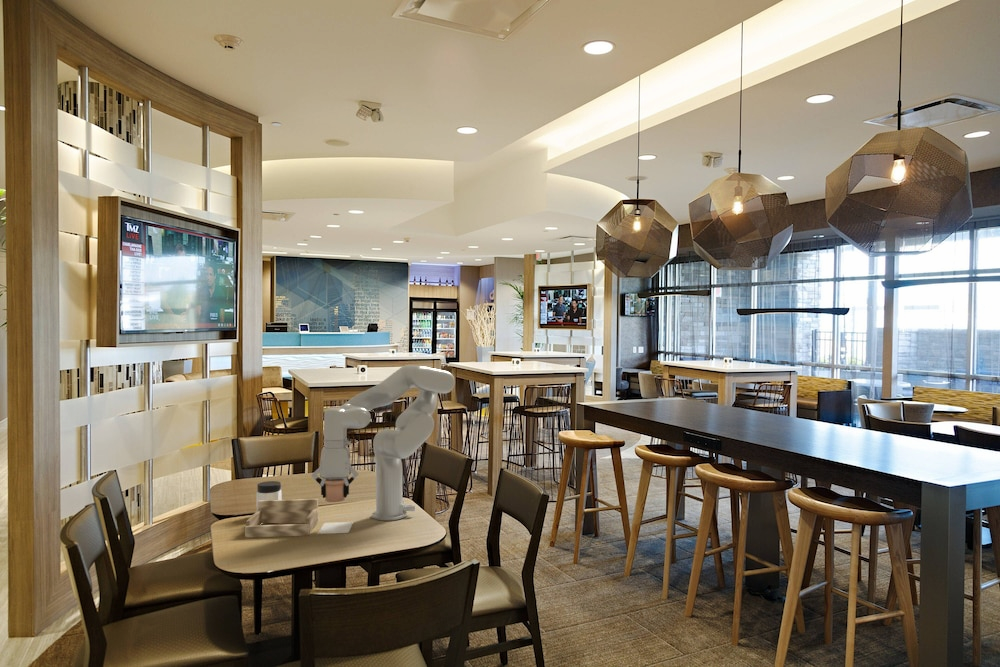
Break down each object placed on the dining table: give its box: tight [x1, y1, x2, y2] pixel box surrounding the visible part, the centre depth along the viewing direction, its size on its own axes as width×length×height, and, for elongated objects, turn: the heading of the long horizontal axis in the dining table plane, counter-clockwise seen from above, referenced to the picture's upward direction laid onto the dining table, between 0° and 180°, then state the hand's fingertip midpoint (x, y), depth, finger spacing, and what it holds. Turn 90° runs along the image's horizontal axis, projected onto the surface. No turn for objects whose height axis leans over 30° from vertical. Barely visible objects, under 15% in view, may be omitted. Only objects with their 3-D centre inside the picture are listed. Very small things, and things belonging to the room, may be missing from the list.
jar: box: [255, 480, 283, 511], centre depth 240 cm, size 9×8×12 cm
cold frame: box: [244, 498, 319, 538], centre depth 224 cm, size 20×16×8 cm
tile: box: [317, 521, 354, 535], centre depth 224 cm, size 10×12×1 cm
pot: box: [324, 478, 346, 503], centre depth 224 cm, size 7×7×7 cm
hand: (335, 496), depth 224 cm, fingers closed on pot, 6 cm apart
